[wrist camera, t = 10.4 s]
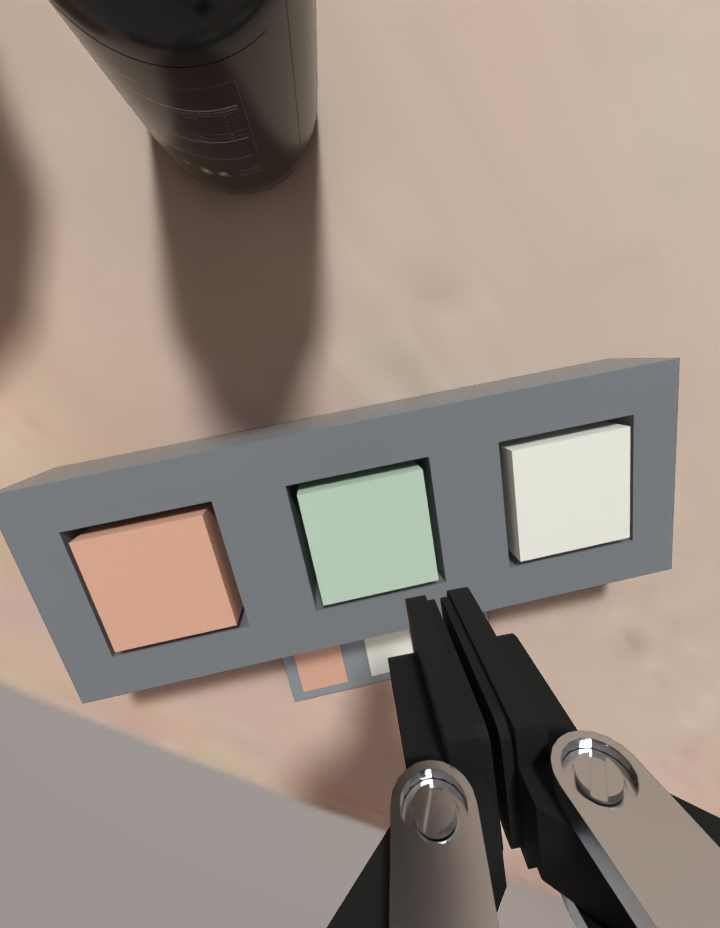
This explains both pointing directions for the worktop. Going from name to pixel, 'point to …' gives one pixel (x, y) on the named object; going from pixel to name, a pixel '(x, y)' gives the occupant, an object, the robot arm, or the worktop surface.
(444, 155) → the worktop surface
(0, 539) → the worktop surface
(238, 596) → the terracotta key
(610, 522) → the cream key
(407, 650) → the card
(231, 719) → the worktop surface
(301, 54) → the supplement bottle
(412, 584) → the sage key
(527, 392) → the keypad
